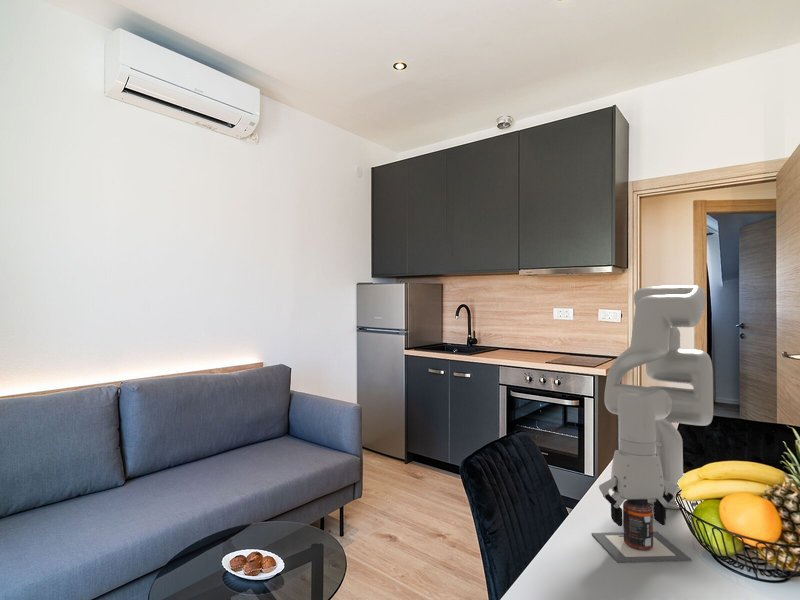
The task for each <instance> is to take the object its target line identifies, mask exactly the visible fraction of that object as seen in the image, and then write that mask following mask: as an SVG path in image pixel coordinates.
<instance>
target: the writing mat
mask: <svg viewBox="0 0 800 600" xmlns="http://www.w3.org/2000/svg"><path fill="white" fill-rule="evenodd" d="M591 535H592V537H593V538H594V539H595V540H596V541H597V543H599V544H600V545H601V546H602V547H603V548H604V549H605V551H606V552H608V554H609V555H610V556H611V558H613V559H614V560H615V561H616V562H617V563H621V564H623V563H651V562H652V563H653V562H655V563H656V562H657V563H658V562H659V563H661V562H692V560H693V559H692V558H690V556H688V555H687V554H686V553H685V552H683V551H682V550H681V549H680V548H678V547H677V546H676V545H675V544H674V543H672V542H671V541H670V540H668V539H667V538H666V537H665V536H663V535H662V534H661V533H660V532H659V531H657V530H656V531H653V547H652V548H651V549H649V550H639V549H635V548H632V547H630V546H629V545H627V544H626V543H625V542H624V535H623V531H621V532H620V531H619V532H618V531H615V532H614V531H613V532H591Z"/></svg>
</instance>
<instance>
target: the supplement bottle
mask: <svg viewBox="0 0 800 600" xmlns="http://www.w3.org/2000/svg"><path fill="white" fill-rule="evenodd" d="M647 501H648V500H647V499H639V500H626V499H625V500H624V502H623V503H622V523H623V525H622V527H623V529H622V530H623V531H622V532H623V535H624V542H625V543H626V544H627V545H629V546H630V547H632V548H635V549H639V550H649V549H651V548H652V547H653V532H654V524H653V523H654V521H653V520H654V510H653V507H652V505H651V504H650V503H648V502H647Z"/></svg>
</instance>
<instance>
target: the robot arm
mask: <svg viewBox="0 0 800 600" xmlns="http://www.w3.org/2000/svg"><path fill="white" fill-rule="evenodd" d="M706 301H707V299H706V294H705V291H704V289H703V288H702V287H700V285H693V284H691V285H687V284H686V285H656V286H646V287H641V288H639V289H637V290H636V291H635V292H634V295H633V303H634V316H633V321H632V322H633V324H632V330H631V338H630V339H631V340H630V346H629V347H628V348H627V349H625V350H624V351H623V352H622V353H620V354H619V355H618V356H617V357H616V358H615V360H614V361H613V362H612V364H611V365H610V367H609V369H608V371H607V375H606V382H605V386H604V387H605V388H604V395H603V396H604V397H603V398H604V399H603V401H604V406H605V408H606V409H607V410H608V412H609V413H611V414H614V415H617V419H618V422H617V423H618V430H617V433H618V449H615V450H614V453H613V457H612V463H611V464H612V465H611V474H610V475H611V476H610V479H608V480H607V481H605V482H603V483H600V484H599V485H598V489H599V490H600V492H601V494H602V496H603V498H604V499H605V500H606V501H607V502H608V503H609V504H610V517H611V520H612V521H613V522H614V523H615V524H616V525H617V527H623V507H621V505H623V503H624V502H625V501H626V500H639V499H647V500H648V501H647V502H648V504H649V505H651V506H653V520H655V522H657V523H659V525H660V526H666V519H667V511H666V510H667V509H671V510H672V509H673V510H674V509H675V510H678V509H679V507H678V505H677V503H676V501H675V494H676V493H677V492H679V491H680V489H679V488H678V486H677V482H678V480H679V479H680V478H681V477H682V476H683V477H684V458H683V457H684V455H683V450H684V449H683V448H684V447H683V445H684V444H683V438H682V435H681V433H680V431H679V430H678V429H677V428H676V427H675V425H674V424H673V423H675V424H682V425H683V424H684V425H692V426H701V427H702V426H705V427H706V426H709V425H710V424H711V423H712V421H713V418H714V373H713V363H712V359H711V357H710V354H708V353H707V352H706V351H704V350H700V349H690V348H689V349H686V348H684V349H683V348H681V332H680V329H679V328H694V327H696V326H698V325H699V322H700V321H701V318H702V316H703V313H704V311H705V308H706V304H707V303H706ZM643 365H645V370H646V371H645V372H646V374H647V376H648V378H649V379H651V380H654V381H657V382H663V383H664V382H665V383H666V382H667V383H676V384H686V385H687V384H688V385H690V386H692V387H693V388H685V387H684V388H682V387H672V386H663V385H651V386H650V385H649V386H643V385H642V386H641V385H636V384H635V385H633V384H622V383H621V381H622V379H623V378H624V376H625V375H626V374H627V373H629V372H630V371H631V370H633V369H635V368H638V367H640V366H643ZM610 490H611V491H613V493H612V494H610ZM679 510H680V509H679Z"/></svg>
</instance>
